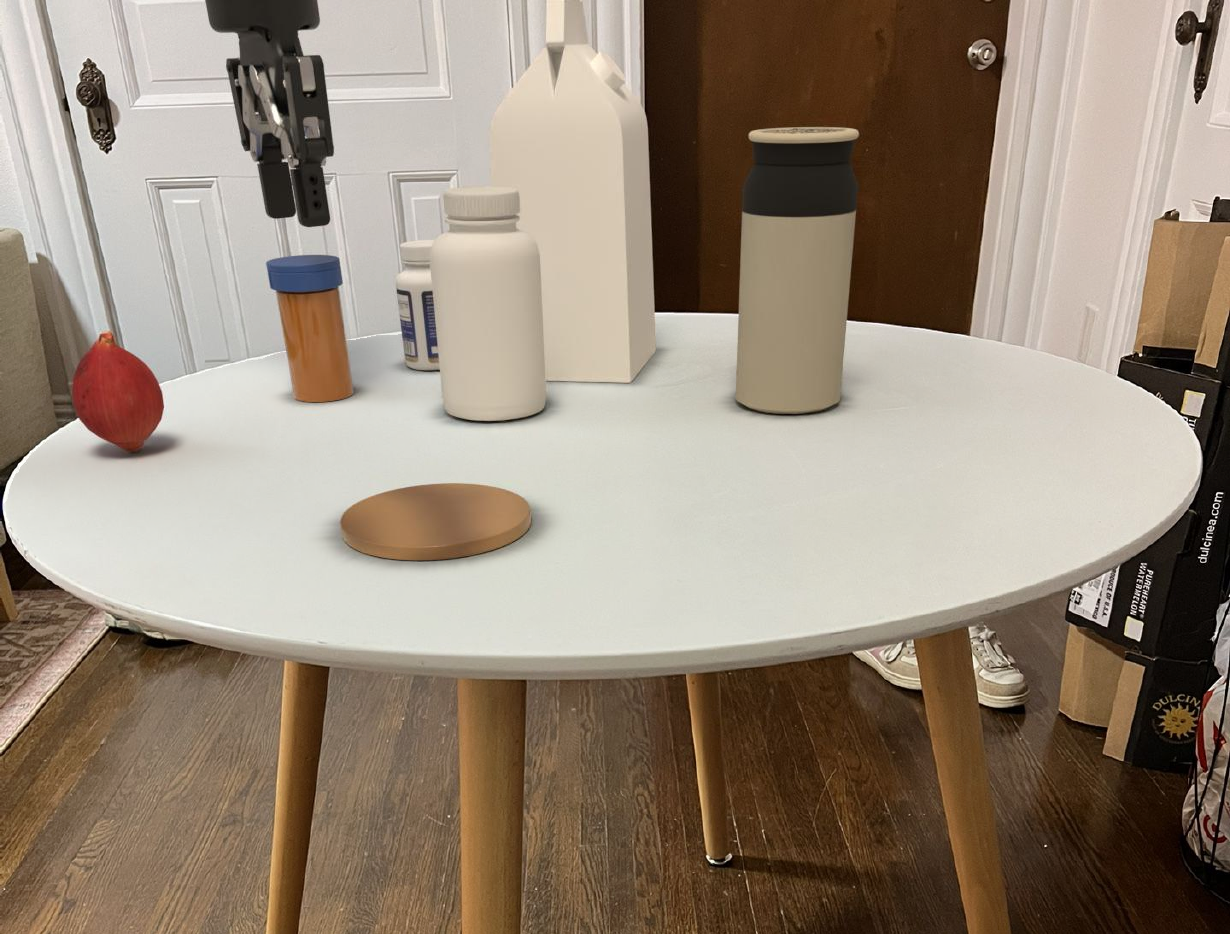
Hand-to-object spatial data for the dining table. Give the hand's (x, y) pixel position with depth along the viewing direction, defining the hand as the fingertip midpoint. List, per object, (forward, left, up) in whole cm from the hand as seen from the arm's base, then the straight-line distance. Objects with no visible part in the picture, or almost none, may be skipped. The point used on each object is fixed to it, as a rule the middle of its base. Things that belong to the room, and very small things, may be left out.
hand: (298, 220), depth 87 cm
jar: (0, 0, -13) cm, 13 cm away
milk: (+22, -4, -13) cm, 26 cm away
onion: (-17, -7, -13) cm, 22 cm away
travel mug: (+28, -25, -13) cm, 40 cm away
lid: (0, 0, -3) cm, 3 cm away
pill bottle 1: (+12, +4, -13) cm, 18 cm away
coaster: (-6, -34, -13) cm, 37 cm away
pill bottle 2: (+9, -13, -13) cm, 20 cm away
